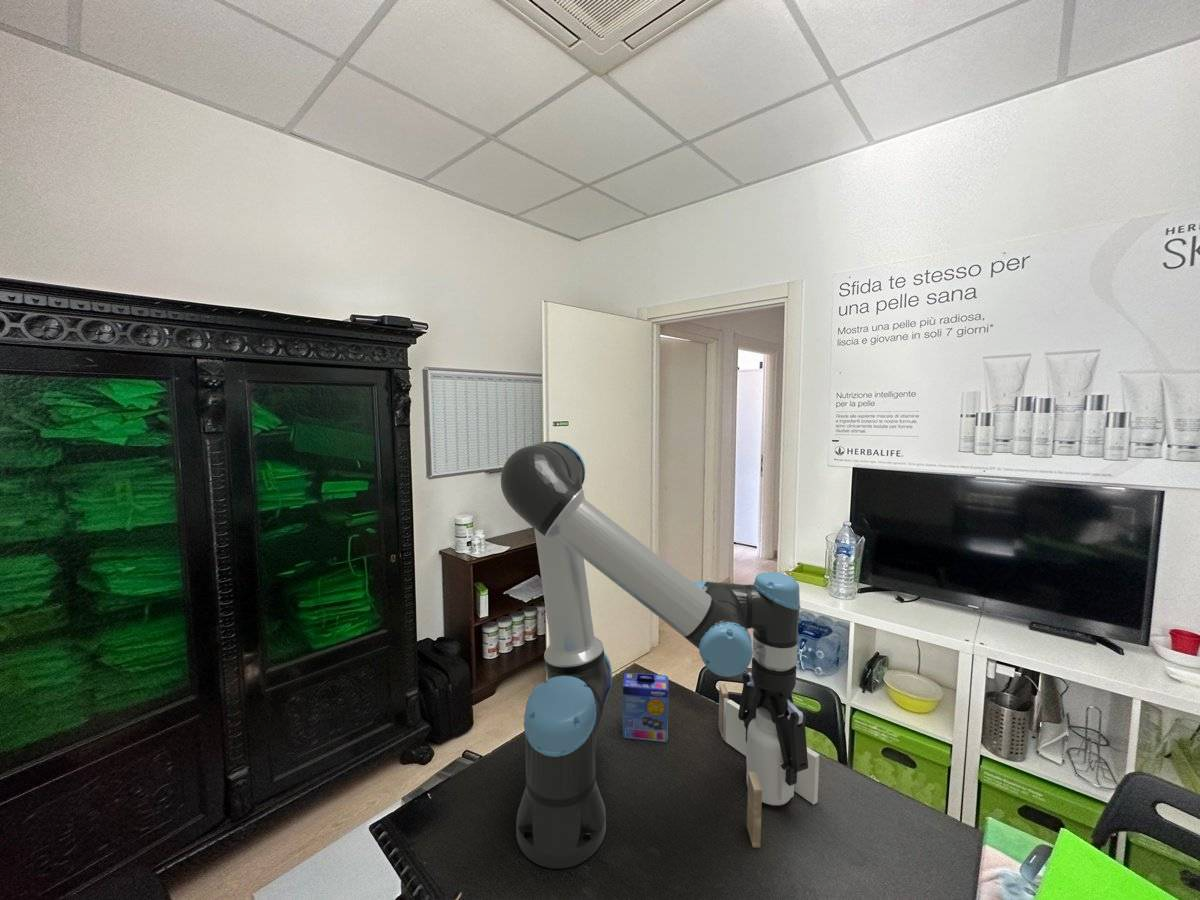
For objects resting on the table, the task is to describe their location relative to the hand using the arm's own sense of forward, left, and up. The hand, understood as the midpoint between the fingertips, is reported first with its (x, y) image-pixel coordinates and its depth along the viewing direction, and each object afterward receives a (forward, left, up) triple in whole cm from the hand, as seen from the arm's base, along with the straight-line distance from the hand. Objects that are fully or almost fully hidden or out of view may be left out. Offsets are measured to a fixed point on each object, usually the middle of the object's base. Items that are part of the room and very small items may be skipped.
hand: (768, 779), depth 86 cm
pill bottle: (0, 0, -2) cm, 2 cm away
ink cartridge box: (-22, +15, -3) cm, 27 cm away
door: (+1, +6, -3) cm, 6 cm away
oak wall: (-5, +3, -3) cm, 7 cm away
